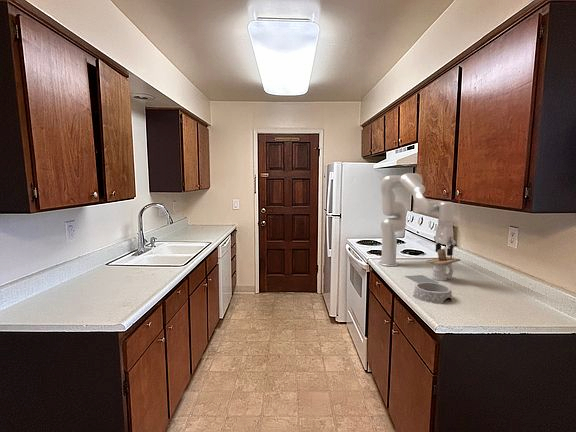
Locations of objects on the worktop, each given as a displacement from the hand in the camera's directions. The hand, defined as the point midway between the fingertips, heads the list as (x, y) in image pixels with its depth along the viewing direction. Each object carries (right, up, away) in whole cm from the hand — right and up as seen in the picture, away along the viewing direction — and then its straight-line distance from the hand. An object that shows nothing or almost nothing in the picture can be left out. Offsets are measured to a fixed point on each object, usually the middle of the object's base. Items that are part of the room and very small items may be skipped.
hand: (443, 253), depth 195 cm
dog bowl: (-17, -19, -25) cm, 36 cm away
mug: (0, -16, +2) cm, 16 cm away
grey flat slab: (-13, -16, 0) cm, 20 cm away
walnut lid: (0, -5, +1) cm, 5 cm away
